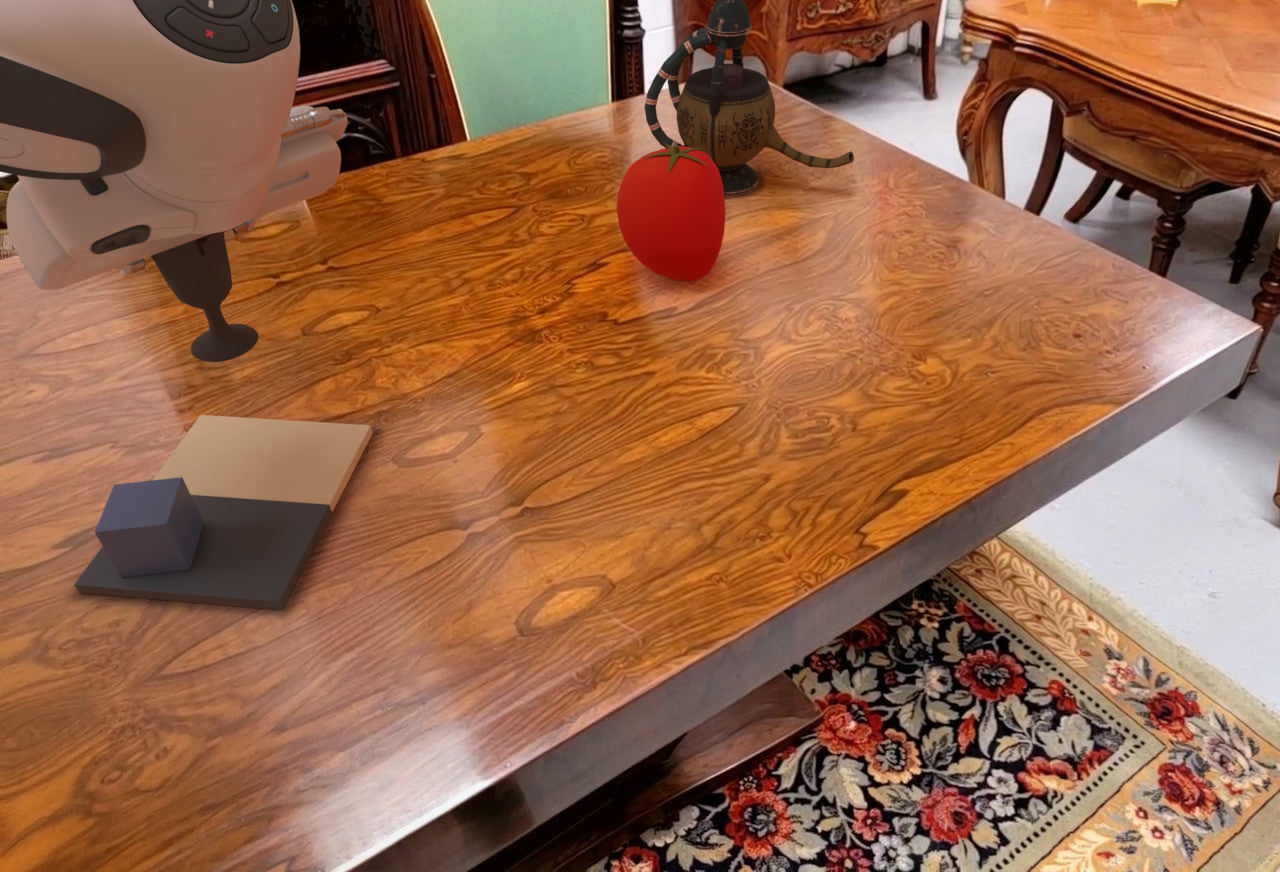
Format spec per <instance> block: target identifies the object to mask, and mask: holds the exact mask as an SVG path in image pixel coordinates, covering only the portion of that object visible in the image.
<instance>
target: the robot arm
mask: <svg viewBox="0 0 1280 872" xmlns="http://www.w3.org/2000/svg"><path fill="white" fill-rule="evenodd" d="M300 38H301V37H300V28H299V24H298V18H297V14H296V10H295V7H294V3H293V0H0V173H4V174H9V175H10V174H11V175H13V176H14V175H15V176H16V177H17V178H18V181H17V182H16V183H15V184H14V185H13V186H12V188H11V189H10V191H9V193H8V196H7V200H6V211H5V212H6V227H7V232H8V237H9V241H10V243H11V245H12V247H13V249H14V251H15V252H16V253H15V254H17V256H18V258H19V260H20V261H21V263H22V265H23V267H24V268H25V270H26V272H27V273H28V275H29V276H30V278H31V279H32V280H33V282H34V284H35V285H36V286H37V288H39V289H41V290H43V291H56V290H57V291H58V290H61V289H64V288H67V287H69V286H72V285H74V284H77V283H80V282H83V281H85V280H88V279H90V278H93V277H96V276H99V275H102V274H105V273H107V272H110V271H112V270H118V271H119V272H120V274H121V275H122V276H123V277H124V278H125V277H127V276H130V275H133V274H136V273H139V272H141V271H144V270H146V260H145V259H146V258H149V257H151V256H152V255H154V254H157V253H160V252H163V251H166V250H168V249H171V248H174V247H177V246H179V245H182V244H185V243H188V242H190V241H193V240H196V239H199V238H201V237H204V236H207V235H210V234H213V233H218V232H223V231H225V232H227V231H230V233H231V235H233V236H235V237H236V236H239V235H242V234H244V233H247V232H251V231H252V230H254V229H255V226H256V222H259V220H261V219H262V218H264V217H265V216H266V215H268V214H270V213H274V212H275V211H279V210H282V209H284V208H287V207H289V206H293V205H295V204H298V203H300V202H304V201H306V200H309V199H311V198H315V197H318V196H320V195H323V194H324V193H326V192H327V191H329V190H330V189H331V188H332V187H334V186H335V184H337V182H338V179H339V175H340V171H341V163H342V153H341V152H342V151H341V149H340V147H339V144H338V142H337V141H339V140H340V138H341V137H343V135H344V133H345V131H346V129H347V127H348V124H349V119H348V116H347V114H346V112H345V111H344V110H342V109H341V108H337V109H331V110H330V108H329V107H327V106H319V107H313V106H310V105H299V106H295V107H293V105H294V100H295V96H296V91H297V85H298V79H299V71H300V63H301V61H300V60H301V40H300ZM226 230H227V231H226Z"/></svg>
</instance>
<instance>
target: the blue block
mask: <svg viewBox="0 0 1280 872" xmlns="http://www.w3.org/2000/svg"><path fill="white" fill-rule="evenodd" d="M203 523H204V522H203V520H202V518H201V516H200V514H199V512H198V510H197V507H196V505H195V503H194V501H193V499H192V497H191V495H190V492H189V490H188V488H187V486H186V484H185V482H184V480H183V478H182V477H179V478H170V479H161V480H153V479H151V480H142V481H135V482H125V483H117V484H113V486H112V489H111V491H110V494H109V496H108V499H107V501H106V503H105V506H104V508H103V510H102V513H101V516H100V517H99V520H98V522H97V525H96V528H95V530H94V534H95V535H96V538H97V539H98V541H99V543H100V544H101V547H102V546H103V547H104V549H105V551H106V552H107V554H108V556H109V558H110V559H111V561H112V563H113V564H114V566H115V568H116V570H117V571H118V573H119V575H120V576H121V578H124V577H133V576H141V575H149V574H158V573H166V572H175V571H183V570H190V568H191V564H192V561H193V558H194V554H195V551H196V547H197V544H198V540H199V537H200V534H201V530H202V527H203Z"/></svg>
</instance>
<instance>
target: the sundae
mask: <svg viewBox="0 0 1280 872" xmlns="http://www.w3.org/2000/svg"><path fill="white" fill-rule="evenodd" d="M227 231H228V230H226V231H223V232H218V233H213V234H210V235H207V236H204V237H201V238H199V239H196V240H193V241H190V242H188V243H185V244H182V245H179V246H177V247H174V248H171V249H168V250H166V251H163V252H160V253H157V254H154V255H152V256H150V257H151V259H152V260H153V262H154V264H155V266H156V267H157V270H158V271H159V273H160V274H161V276H162V277H163V279H164V281H165V283H166V284H167V286H168V287H169V288H170V290H171V291H172V293H173V294H174V295H175V297H176V298H177V299H178V301H179V302H181V303H184V304H186V305H188V306H190V307H192V308H194V309H195V308H196V309H200V310H202V311H203V312H204V315H205V317H206V319H207V322H208V323H207V324H208V329H207V330H206V331H204V332H202V333H200V335H198V336H196V337H195V339H194V340H193V341H192V343H191V346H190V353H191V355H192V356H193V357H194V358H195V359H197V360H200V361H202V362H206V363H221V362H222V363H223V362H226V361H230V360H234V359H237V358H239V357H241V356H243V355H245V354H247V353H248V352H250V351H251V350H253V348H254V347H255V346H256V345H257V343H258V341H259V333H258V331H257V330H256V329H255V328H254V327H252V326H250V325H248V324H244V323H228V322H227V320H226V318H225V317H224V315H223V312H222V308H221V305H222V304H223V302H224V301H225V300H226V299H227V298H228V296H229V294H230V292H231V291H232V289H233V280H232V270H231V264H230V260H229V255H228V250H227V244H226V238H225V232H227Z"/></svg>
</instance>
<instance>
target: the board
mask: <svg viewBox="0 0 1280 872" xmlns="http://www.w3.org/2000/svg"><path fill="white" fill-rule="evenodd" d="M373 434H374V432H373V428H372V425H370V424H358V423H357V424H356V423H341V422H325V421H309V420H294V419H293V420H291V419H290V420H289V419H277V418H276V419H275V418H261V417H260V418H259V417H243V416H226V415H212V414H211V415H209V414H200V415H199V416H198V418H197V419H196V420H195V422H194V423H193V424H192V425H191V427H190V428H189V429H188V431H187V432H186V434H185V435H184V437H183V438H182V439H181V440H180V442H179V443H178V445H177V446H176V447H175V449H174V450H173V451H172V453H171V454H170V455H169V457H168V458H167V459H166V460H165V462H164V463H163V465H162V466H161V467H160V469H159V470H158V471H157V473H156V474H155V476H154V477H153V478H152V480H161V479H170V478H179V477H182V478H183V480H184V482H185V484H186V486H187V488H188V490H189V492H190V495H191V497H192V499H193V501H194V503H195V505H196V507H197V510H198V512H199V514H200V516H201V518H202V520H203V522H204V523H203V527H202V530H201V534H200V537H199V540H198V544H197V547H196V551H195V554H194V558H193V561H192V564H191V568H190V570H183V571H175V572H166V573H158V574H149V575H141V576H133V577H124V578H121V576H120V575H119V573H118V571H117V570H116V568H115V566H114V564H113V563H112V561H111V559H110V558H109V556H108V554H107V552H106V551H105V549H104V547H103V546H102V545H101V548H100V549H99V551H98V552H97V553H96V554H95V556H94V557H93V558H92V559H91V561H90V562H89V564H88V565H87V566H86V568H85V569H84V571H82V574H81V575H80V576H79V577H78V578H77V579H76V581H75V582H74V584H73V585H74V587H75V588H76V590H77V592H78V593H79V594H85V595H97V596H109V597H110V596H111V597H123V598H132V599H133V598H134V599H146V600H158V601H167V602H181V603H194V604H206V605H215V606H230V607H240V608H253V609H265V610H275V611H277V610H278V611H283V610H284V608H285V606H286V604H287V602H288V599H289V598H290V596H291V594H292V592H293V590H294V589H295V586H296V585H297V583H298V581H299V579H300V576H301V574H302V573H303V571H304V569H305V568H306V565H307V563H308V561H309V559H310V557H311V556H312V553H313V551H314V549H315V548H316V546H317V544H318V541H320V540H319V539H321V538H320V537H321V536H322V534H323V532H324V530H325V528H326V526H327V525H328V522H329V520H330V518H331V516H332V514H333V512H334V510H335V508H336V506H337V504H338V502H339V500H340V499H341V496H342V494H343V493H344V490H345V488H346V487H347V484H348V483H349V481H350V479H351V478H352V475H353V473H354V471H355V470H356V467H357V465H358V464H359V461H360V459H361V458H362V455H363V453H364V451H365V450H366V447H367V446H368V444H369V442H370V440H371V438H372V436H373Z"/></svg>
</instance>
